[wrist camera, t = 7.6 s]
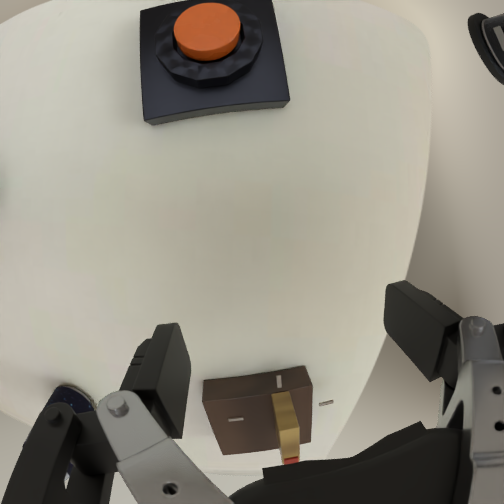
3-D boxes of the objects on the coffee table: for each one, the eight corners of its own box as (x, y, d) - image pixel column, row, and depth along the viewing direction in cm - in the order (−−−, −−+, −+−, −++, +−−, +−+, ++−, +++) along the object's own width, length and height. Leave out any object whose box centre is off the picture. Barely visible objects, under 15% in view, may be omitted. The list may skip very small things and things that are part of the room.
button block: (266, 6, 16) (274, -20, 12) (284, 107, 19) (296, 94, 15) (146, 22, 15) (133, -1, 12) (151, 125, 18) (135, 116, 14)
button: (235, 12, 13) (237, -1, 12) (242, 57, 14) (244, 46, 13) (176, 20, 13) (172, 7, 11) (179, 66, 14) (174, 55, 12)
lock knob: (271, 393, 22) (279, 433, 18) (288, 390, 22) (300, 429, 18) (275, 430, 24) (282, 466, 19) (291, 427, 24) (300, 463, 20)
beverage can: (62, 405, 25) (29, 471, 14) (53, 375, 24) (10, 445, 12) (99, 419, 26) (73, 492, 14) (93, 390, 25) (58, 470, 13)
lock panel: (325, 344, 25) (336, 364, 22) (321, 420, 28) (329, 438, 25) (198, 364, 24) (196, 386, 21) (222, 436, 28) (223, 456, 25)
